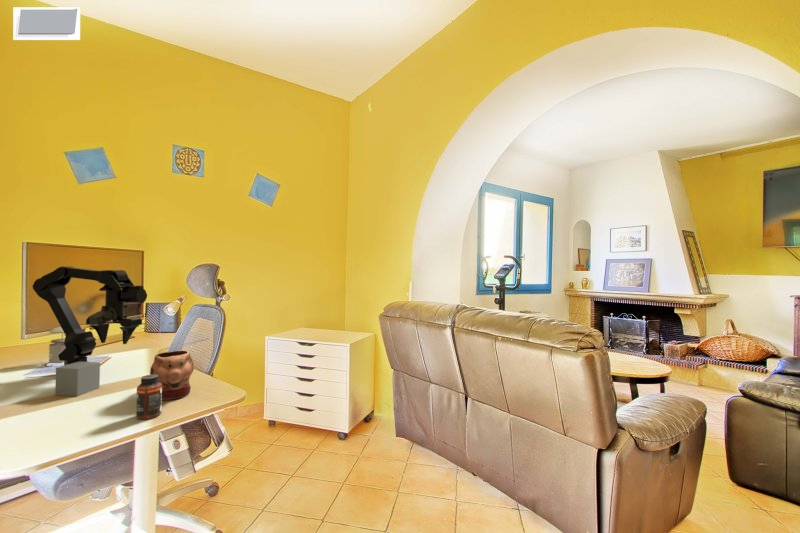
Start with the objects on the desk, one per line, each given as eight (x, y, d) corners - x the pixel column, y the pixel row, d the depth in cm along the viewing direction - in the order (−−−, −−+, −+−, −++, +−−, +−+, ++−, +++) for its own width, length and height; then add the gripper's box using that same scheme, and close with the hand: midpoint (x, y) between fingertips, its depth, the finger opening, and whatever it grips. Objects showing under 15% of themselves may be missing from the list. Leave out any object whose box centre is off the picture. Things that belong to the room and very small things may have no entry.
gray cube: (55, 394, 115) (55, 367, 115) (78, 386, 123) (79, 361, 123) (77, 396, 115) (77, 369, 114) (99, 388, 122) (99, 362, 122)
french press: (40, 367, 143) (41, 305, 143) (54, 359, 154) (55, 302, 154) (71, 365, 147) (72, 304, 147) (83, 358, 158) (84, 301, 158)
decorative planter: (144, 390, 122) (145, 349, 122) (184, 382, 130) (185, 344, 130) (156, 407, 107) (157, 361, 107) (201, 398, 116) (202, 355, 116)
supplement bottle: (166, 412, 105) (167, 373, 104) (150, 421, 99) (151, 380, 99) (147, 410, 105) (148, 372, 105) (130, 419, 99) (131, 378, 99)
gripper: (71, 304, 130) (70, 346, 130) (117, 306, 127) (116, 349, 127) (100, 301, 141) (99, 340, 141) (143, 302, 138) (142, 343, 138)
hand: (113, 343), depth 136 cm, fingers open, 9 cm apart
